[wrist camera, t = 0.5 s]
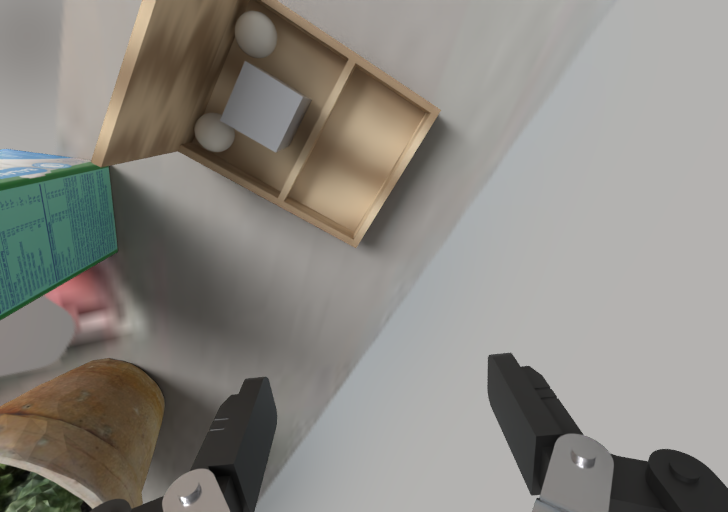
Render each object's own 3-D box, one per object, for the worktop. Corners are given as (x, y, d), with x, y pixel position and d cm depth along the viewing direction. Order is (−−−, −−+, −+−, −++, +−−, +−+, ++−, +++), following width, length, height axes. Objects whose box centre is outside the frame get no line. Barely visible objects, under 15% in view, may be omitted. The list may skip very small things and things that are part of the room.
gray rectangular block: (265, 70, 31) (245, 60, 25) (312, 99, 32) (303, 96, 26) (243, 119, 32) (219, 120, 27) (289, 146, 33) (275, 152, 28)
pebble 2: (251, 7, 29) (239, -5, 26) (287, 31, 30) (279, 22, 27) (235, 46, 30) (222, 39, 27) (270, 68, 31) (261, 63, 28)
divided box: (249, -13, 29) (174, -101, 17) (433, 110, 33) (479, 108, 21) (186, 144, 34) (90, 162, 22) (355, 238, 37) (355, 298, 25)
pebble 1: (211, 105, 32) (196, 104, 29) (245, 125, 33) (234, 126, 30) (197, 138, 33) (182, 140, 30) (231, 157, 34) (218, 161, 31)
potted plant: (2, 352, 41) (-452, 659, 18) (153, 313, 40) (-128, 592, 17) (88, 465, 48) (-165, 797, 25) (221, 435, 46) (85, 757, 23)
